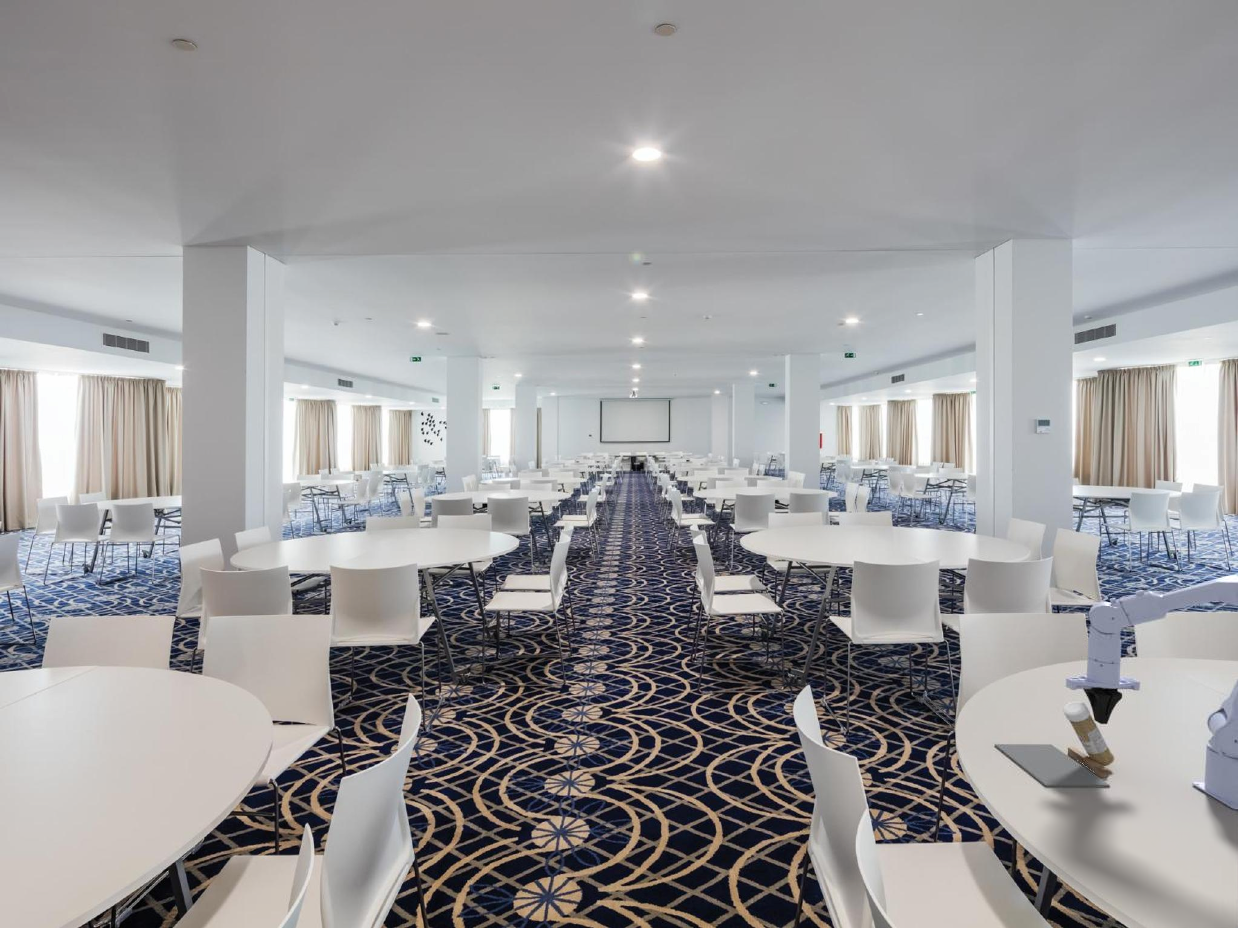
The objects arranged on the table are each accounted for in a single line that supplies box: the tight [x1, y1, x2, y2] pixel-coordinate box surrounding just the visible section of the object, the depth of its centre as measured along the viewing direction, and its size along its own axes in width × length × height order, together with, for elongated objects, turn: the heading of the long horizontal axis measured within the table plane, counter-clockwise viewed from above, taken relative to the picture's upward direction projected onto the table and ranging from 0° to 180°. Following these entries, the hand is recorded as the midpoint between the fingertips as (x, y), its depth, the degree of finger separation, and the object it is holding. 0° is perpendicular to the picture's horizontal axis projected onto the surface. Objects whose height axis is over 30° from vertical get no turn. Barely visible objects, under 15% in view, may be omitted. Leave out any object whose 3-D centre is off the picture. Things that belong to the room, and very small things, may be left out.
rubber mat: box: [994, 743, 1111, 788], centre depth 146 cm, size 18×13×1 cm
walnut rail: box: [1067, 746, 1109, 778], centre depth 146 cm, size 10×2×2 cm, turn 1°
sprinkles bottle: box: [1062, 701, 1115, 767], centre depth 146 cm, size 5×5×14 cm
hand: (1100, 722), depth 146 cm, fingers closed
